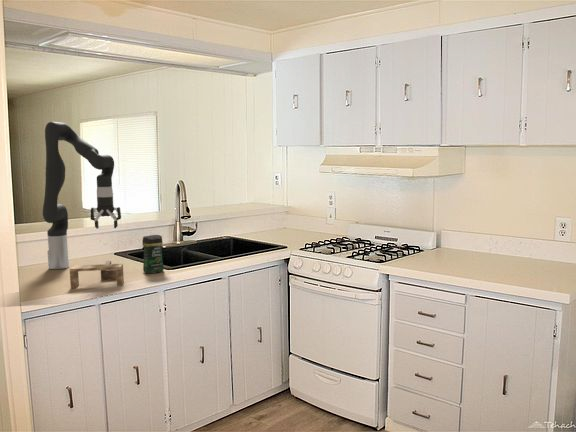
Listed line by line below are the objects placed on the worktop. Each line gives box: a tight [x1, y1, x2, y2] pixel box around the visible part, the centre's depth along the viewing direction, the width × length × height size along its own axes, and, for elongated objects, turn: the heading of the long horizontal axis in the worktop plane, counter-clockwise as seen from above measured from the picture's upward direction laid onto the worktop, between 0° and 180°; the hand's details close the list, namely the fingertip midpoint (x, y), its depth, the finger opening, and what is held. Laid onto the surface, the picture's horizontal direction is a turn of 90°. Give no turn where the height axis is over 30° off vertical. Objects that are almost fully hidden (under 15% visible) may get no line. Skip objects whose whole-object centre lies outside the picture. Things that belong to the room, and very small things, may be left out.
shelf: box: [69, 263, 125, 289], centre depth 249 cm, size 22×7×9 cm, turn 99°
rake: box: [100, 260, 117, 281], centre depth 269 cm, size 8×20×5 cm, turn 11°
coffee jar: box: [141, 234, 164, 274], centre depth 273 cm, size 10×8×19 cm
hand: (106, 228), depth 272 cm, fingers open, 8 cm apart
